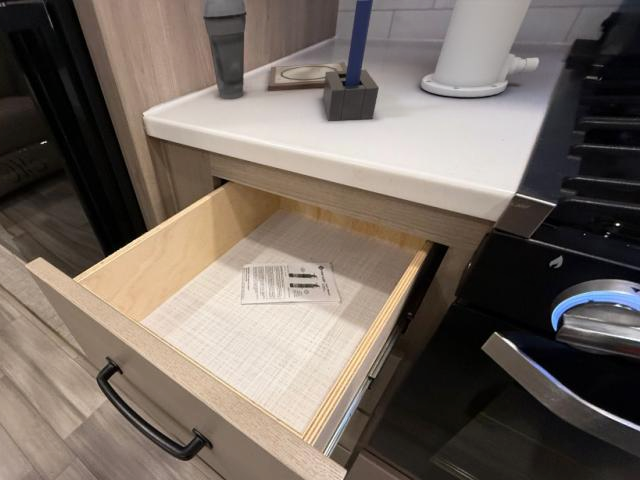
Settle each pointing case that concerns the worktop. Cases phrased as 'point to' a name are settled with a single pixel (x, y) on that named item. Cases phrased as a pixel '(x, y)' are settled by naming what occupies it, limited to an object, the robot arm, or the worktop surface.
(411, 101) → the worktop surface
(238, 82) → the beverage cup
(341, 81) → the block
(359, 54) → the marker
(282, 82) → the drawing board
